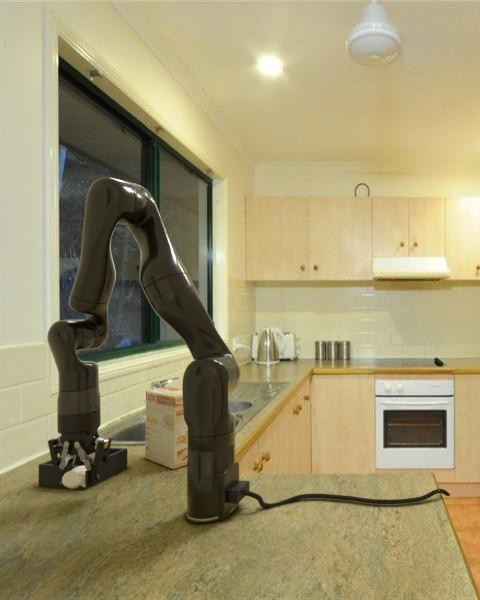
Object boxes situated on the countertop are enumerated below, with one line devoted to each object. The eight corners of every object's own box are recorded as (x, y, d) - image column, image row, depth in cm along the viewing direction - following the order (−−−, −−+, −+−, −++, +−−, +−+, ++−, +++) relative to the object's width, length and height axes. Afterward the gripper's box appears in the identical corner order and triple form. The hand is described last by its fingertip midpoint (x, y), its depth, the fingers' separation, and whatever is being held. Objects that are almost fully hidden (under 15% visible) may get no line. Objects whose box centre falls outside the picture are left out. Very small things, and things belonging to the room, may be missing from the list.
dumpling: (87, 480, 94) (92, 462, 94) (100, 488, 91) (105, 470, 92) (52, 487, 87) (58, 468, 88) (66, 496, 85) (71, 477, 85)
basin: (127, 468, 108) (127, 448, 108) (85, 489, 95) (85, 467, 95) (85, 465, 109) (85, 446, 109) (38, 486, 97) (38, 464, 97)
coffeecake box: (198, 461, 112) (199, 391, 113) (172, 470, 106) (173, 396, 107) (169, 450, 120) (170, 385, 121) (144, 458, 114) (144, 390, 115)
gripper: (34, 412, 87) (34, 491, 87) (93, 413, 85) (93, 494, 85) (67, 403, 94) (67, 476, 94) (122, 404, 92) (122, 479, 92)
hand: (80, 484), depth 89 cm, fingers closed on dumpling, 5 cm apart
